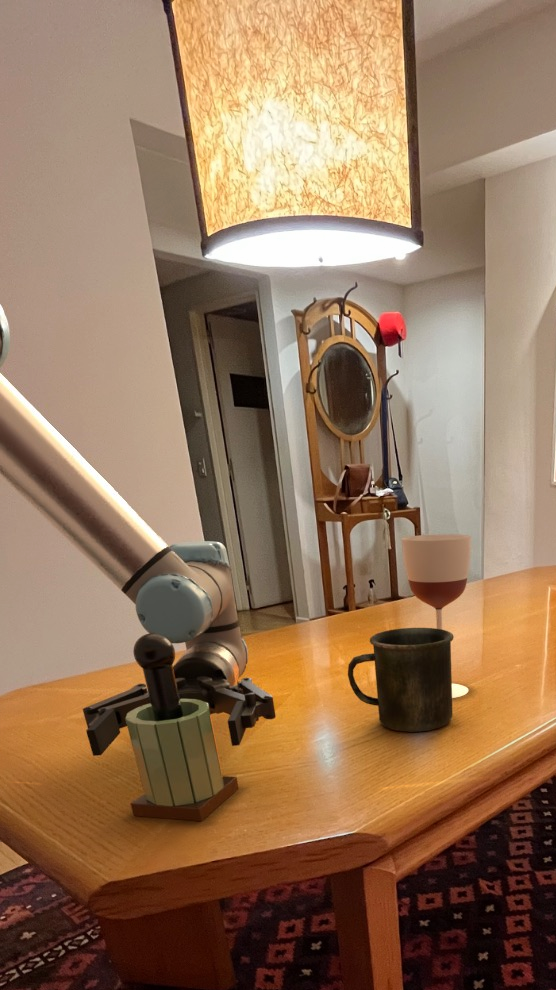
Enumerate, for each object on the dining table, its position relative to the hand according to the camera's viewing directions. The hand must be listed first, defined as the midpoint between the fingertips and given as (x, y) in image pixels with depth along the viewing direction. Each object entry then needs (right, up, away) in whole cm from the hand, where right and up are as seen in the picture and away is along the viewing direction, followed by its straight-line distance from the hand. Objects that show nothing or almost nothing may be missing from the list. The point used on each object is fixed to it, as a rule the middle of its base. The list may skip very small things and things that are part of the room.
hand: (164, 738), depth 68 cm
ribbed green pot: (0, -5, +6) cm, 8 cm away
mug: (+22, +5, +27) cm, 36 cm away
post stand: (0, -6, +6) cm, 9 cm away
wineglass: (+27, +11, +40) cm, 50 cm away
